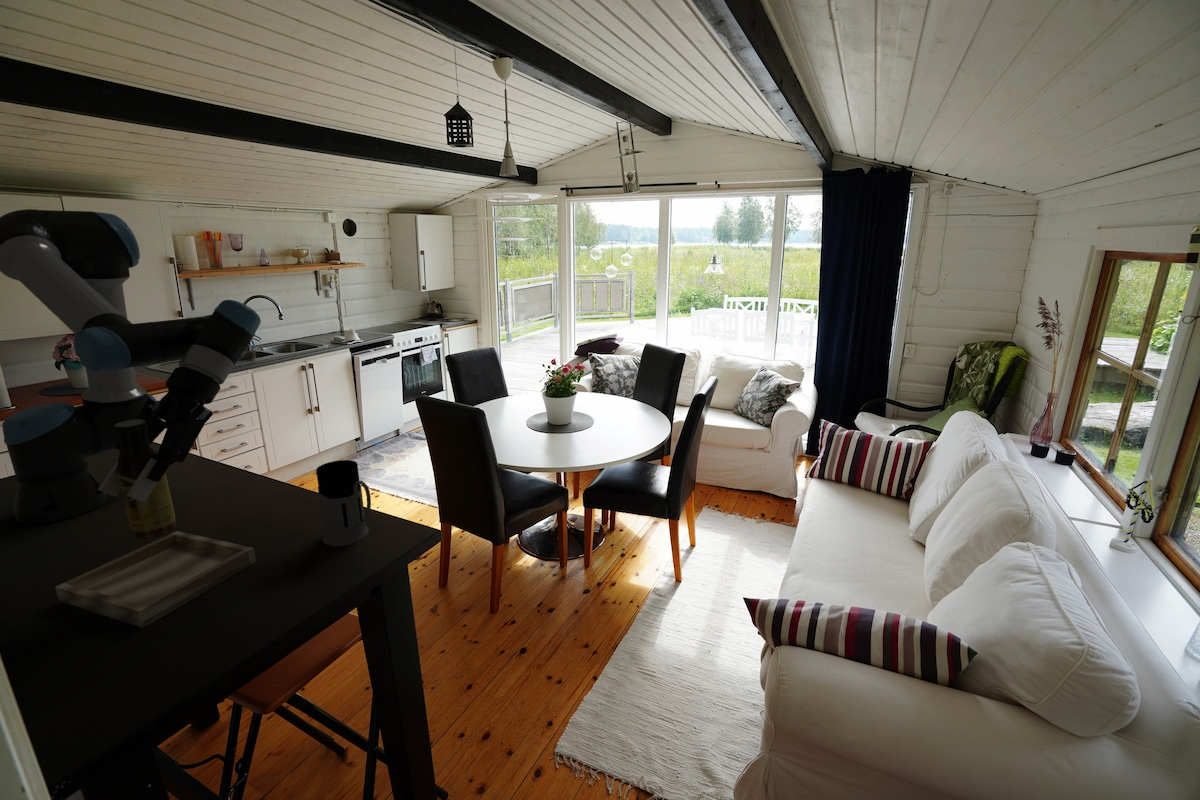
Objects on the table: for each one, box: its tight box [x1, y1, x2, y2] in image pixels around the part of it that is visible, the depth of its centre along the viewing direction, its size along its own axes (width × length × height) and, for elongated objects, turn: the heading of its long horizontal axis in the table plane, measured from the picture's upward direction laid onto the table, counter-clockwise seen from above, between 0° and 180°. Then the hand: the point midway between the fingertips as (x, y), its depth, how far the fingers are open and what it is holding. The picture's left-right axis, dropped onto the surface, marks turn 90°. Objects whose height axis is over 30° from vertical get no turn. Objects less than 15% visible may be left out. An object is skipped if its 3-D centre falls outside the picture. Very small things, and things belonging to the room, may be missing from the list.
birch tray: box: [54, 530, 257, 629], centre depth 100 cm, size 20×20×3 cm
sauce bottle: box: [114, 419, 177, 540], centre depth 95 cm, size 7×6×20 cm
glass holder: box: [315, 459, 372, 547], centre depth 112 cm, size 9×14×15 cm, turn 56°
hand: (121, 495), depth 92 cm, fingers closed on sauce bottle, 6 cm apart
